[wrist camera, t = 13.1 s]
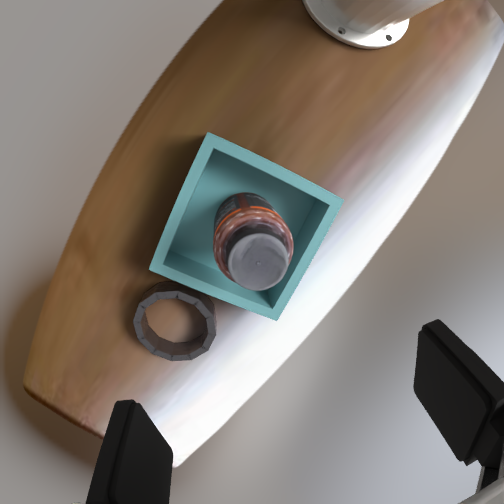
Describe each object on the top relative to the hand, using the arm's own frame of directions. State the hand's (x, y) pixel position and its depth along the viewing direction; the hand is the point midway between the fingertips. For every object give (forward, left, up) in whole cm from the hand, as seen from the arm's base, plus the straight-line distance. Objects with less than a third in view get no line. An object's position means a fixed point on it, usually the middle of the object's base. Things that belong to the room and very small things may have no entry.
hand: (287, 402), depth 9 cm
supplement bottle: (0, 0, -23) cm, 23 cm away
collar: (+13, -2, -24) cm, 28 cm away
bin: (0, 0, -24) cm, 24 cm away
